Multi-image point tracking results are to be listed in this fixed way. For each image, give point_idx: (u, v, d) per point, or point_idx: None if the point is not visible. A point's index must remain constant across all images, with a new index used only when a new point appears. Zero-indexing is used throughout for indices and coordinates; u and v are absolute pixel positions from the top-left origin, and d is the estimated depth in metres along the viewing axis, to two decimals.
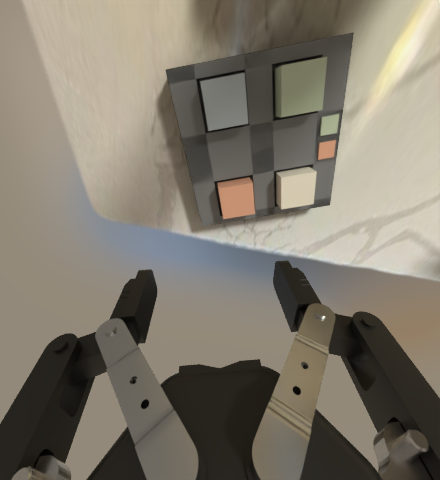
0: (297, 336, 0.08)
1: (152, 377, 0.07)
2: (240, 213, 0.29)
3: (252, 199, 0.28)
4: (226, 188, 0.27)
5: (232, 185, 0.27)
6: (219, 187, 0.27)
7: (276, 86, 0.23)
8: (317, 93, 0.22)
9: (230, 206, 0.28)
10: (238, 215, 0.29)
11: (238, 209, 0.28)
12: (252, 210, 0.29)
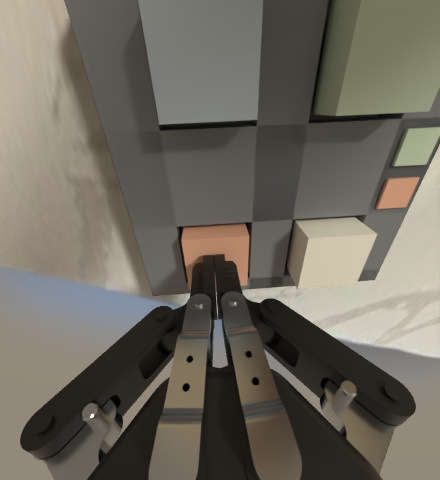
0: (229, 332, 0.08)
1: (203, 369, 0.07)
2: None
3: (245, 263, 0.15)
4: (198, 240, 0.14)
5: (210, 236, 0.14)
6: (184, 237, 0.14)
7: (331, 42, 0.10)
8: (432, 68, 0.09)
9: None
10: None
11: None
12: (242, 280, 0.16)
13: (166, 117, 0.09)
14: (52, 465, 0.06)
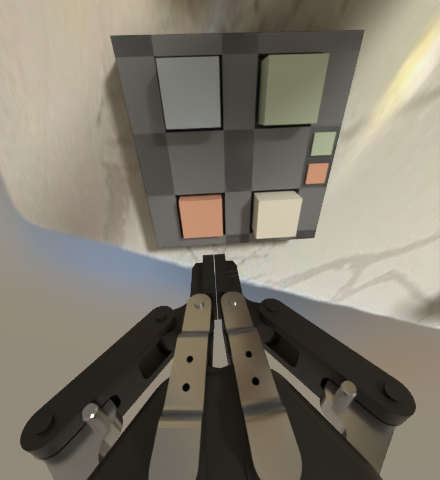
0: (229, 332, 0.08)
1: (203, 369, 0.07)
2: (205, 233, 0.24)
3: (220, 218, 0.23)
4: (189, 202, 0.21)
5: (197, 199, 0.22)
6: (180, 200, 0.22)
7: (261, 84, 0.17)
8: (312, 100, 0.17)
9: (193, 224, 0.23)
10: (202, 235, 0.24)
11: (203, 229, 0.23)
12: (219, 231, 0.24)
13: (170, 125, 0.17)
14: (52, 465, 0.06)
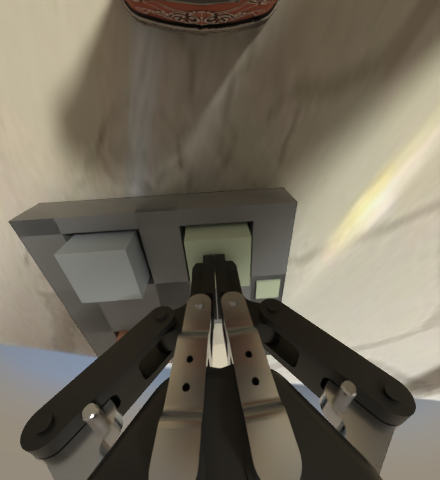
0: (229, 332, 0.08)
1: (203, 369, 0.07)
2: None
3: None
4: None
5: None
6: (119, 338, 0.20)
7: None
8: (240, 271, 0.15)
9: None
10: None
11: None
12: None
13: (85, 300, 0.15)
14: (52, 465, 0.06)
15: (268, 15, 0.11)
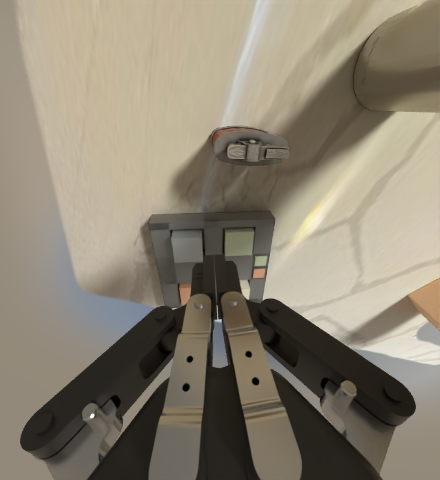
0: (229, 332, 0.08)
1: (203, 369, 0.07)
2: None
3: None
4: (185, 288, 0.37)
5: (190, 286, 0.38)
6: (180, 286, 0.37)
7: (224, 235, 0.34)
8: (248, 247, 0.34)
9: (187, 298, 0.39)
10: None
11: None
12: None
13: (176, 261, 0.33)
14: (52, 465, 0.06)
15: None
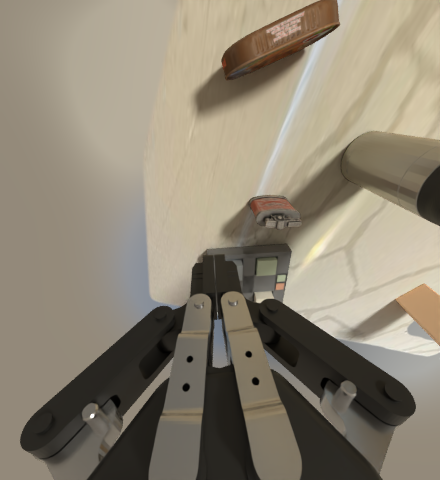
0: (229, 332, 0.08)
1: (203, 369, 0.07)
2: None
3: None
4: None
5: None
6: None
7: (255, 262, 0.50)
8: (273, 270, 0.49)
9: None
10: None
11: None
12: None
13: None
14: (52, 465, 0.06)
15: None
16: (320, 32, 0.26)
